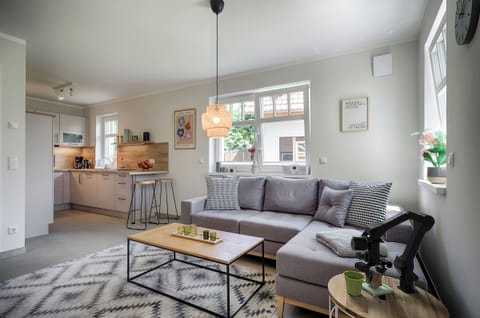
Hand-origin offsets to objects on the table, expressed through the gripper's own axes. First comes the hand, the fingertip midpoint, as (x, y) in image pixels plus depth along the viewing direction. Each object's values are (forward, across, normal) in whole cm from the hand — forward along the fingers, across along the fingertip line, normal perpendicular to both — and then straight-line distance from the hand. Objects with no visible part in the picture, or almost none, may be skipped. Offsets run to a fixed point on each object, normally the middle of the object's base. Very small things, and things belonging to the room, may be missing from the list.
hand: (373, 282), depth 122 cm
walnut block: (+1, 0, 0) cm, 1 cm away
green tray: (+3, 0, 0) cm, 3 cm away
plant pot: (+3, +13, +1) cm, 14 cm away
